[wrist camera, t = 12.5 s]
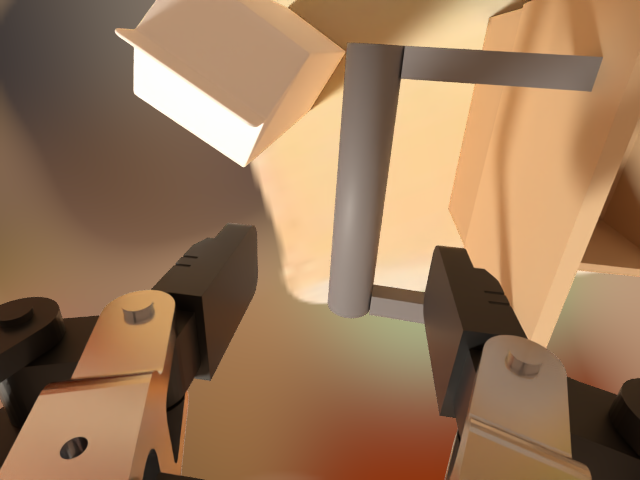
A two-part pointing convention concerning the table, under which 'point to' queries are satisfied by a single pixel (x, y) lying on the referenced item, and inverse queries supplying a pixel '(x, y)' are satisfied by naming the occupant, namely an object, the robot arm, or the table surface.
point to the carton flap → (499, 154)
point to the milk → (230, 69)
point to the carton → (622, 201)
